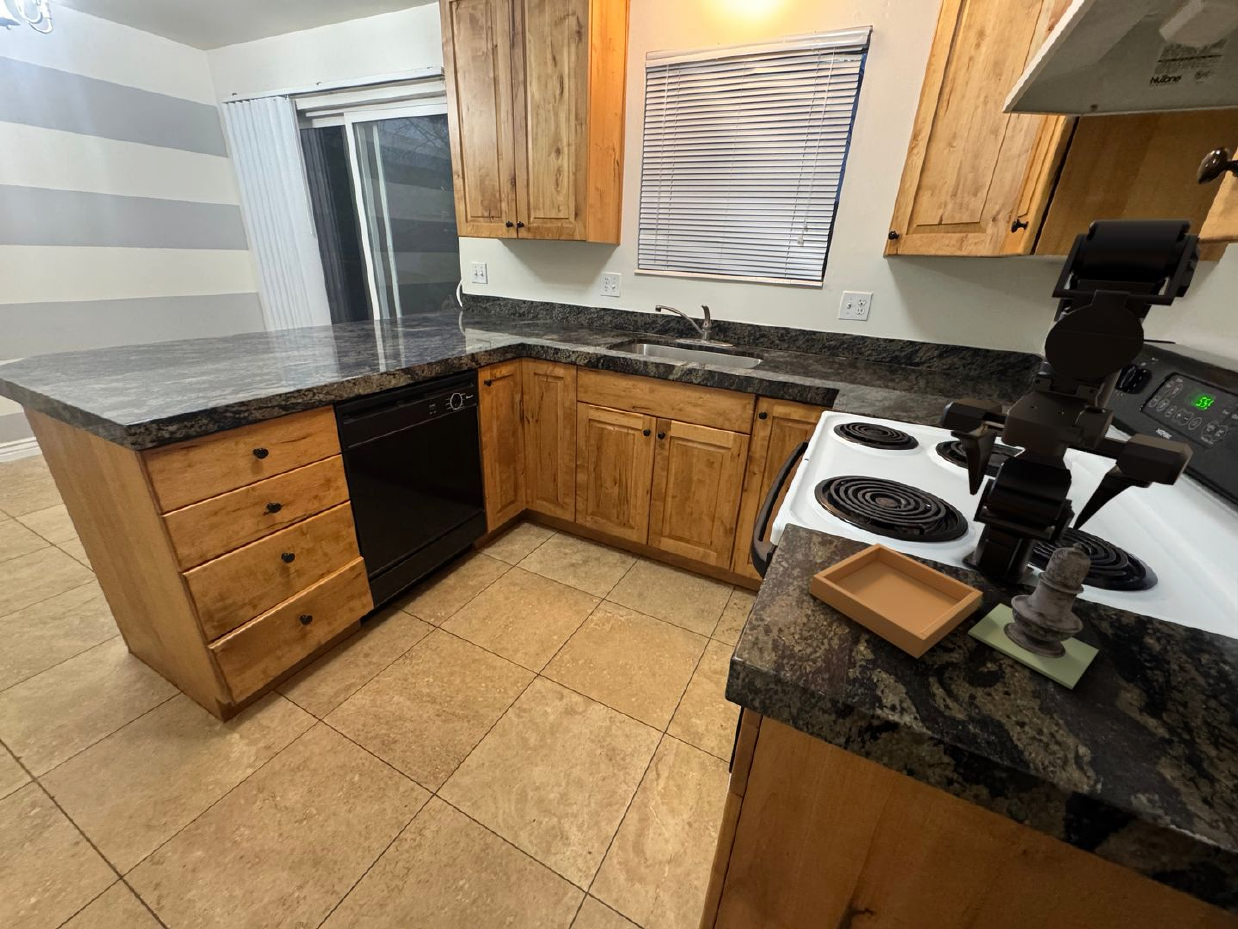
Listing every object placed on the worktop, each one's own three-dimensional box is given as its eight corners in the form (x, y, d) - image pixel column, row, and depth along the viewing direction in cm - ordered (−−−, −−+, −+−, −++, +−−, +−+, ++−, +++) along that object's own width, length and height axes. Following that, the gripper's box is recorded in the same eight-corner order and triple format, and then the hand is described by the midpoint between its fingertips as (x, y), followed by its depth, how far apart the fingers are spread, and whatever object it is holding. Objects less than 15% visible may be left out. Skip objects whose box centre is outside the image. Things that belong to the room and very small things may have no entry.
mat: (999, 606, 59) (1000, 603, 59) (1097, 653, 52) (1099, 650, 52) (967, 633, 54) (968, 631, 54) (1071, 690, 47) (1073, 686, 47)
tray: (873, 557, 67) (877, 542, 66) (976, 609, 58) (983, 592, 57) (808, 592, 59) (812, 575, 58) (917, 659, 50) (924, 640, 49)
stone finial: (1074, 669, 49) (1128, 566, 45) (1002, 644, 52) (1046, 545, 47) (1063, 635, 54) (1111, 539, 49) (998, 614, 57) (1037, 521, 52)
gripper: (939, 353, 49) (897, 494, 55) (1216, 398, 36) (1120, 578, 42) (982, 347, 56) (940, 474, 62) (1230, 383, 42) (1146, 541, 48)
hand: (1021, 510), depth 53 cm, fingers open, 9 cm apart
